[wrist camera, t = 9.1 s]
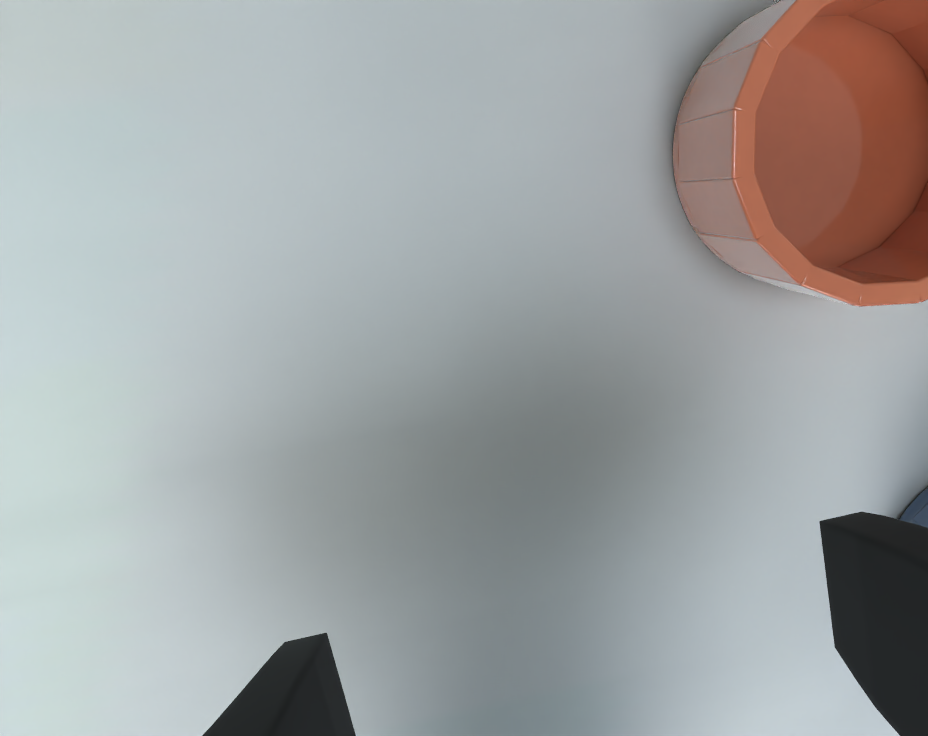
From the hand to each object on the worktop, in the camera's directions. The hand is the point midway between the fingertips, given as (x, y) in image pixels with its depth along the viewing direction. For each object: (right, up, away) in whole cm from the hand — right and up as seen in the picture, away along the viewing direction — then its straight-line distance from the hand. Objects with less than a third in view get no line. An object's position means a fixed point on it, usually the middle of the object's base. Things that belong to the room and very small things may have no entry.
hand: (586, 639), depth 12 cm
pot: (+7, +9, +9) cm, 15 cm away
